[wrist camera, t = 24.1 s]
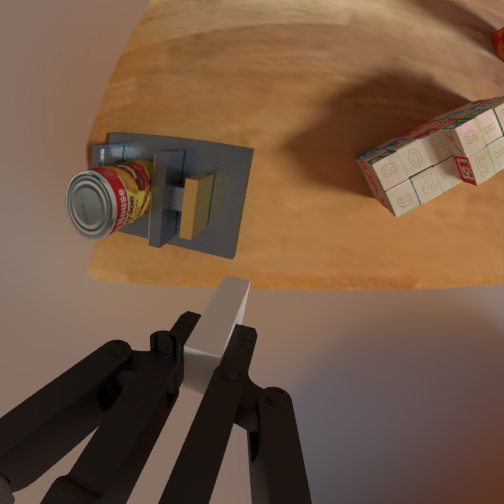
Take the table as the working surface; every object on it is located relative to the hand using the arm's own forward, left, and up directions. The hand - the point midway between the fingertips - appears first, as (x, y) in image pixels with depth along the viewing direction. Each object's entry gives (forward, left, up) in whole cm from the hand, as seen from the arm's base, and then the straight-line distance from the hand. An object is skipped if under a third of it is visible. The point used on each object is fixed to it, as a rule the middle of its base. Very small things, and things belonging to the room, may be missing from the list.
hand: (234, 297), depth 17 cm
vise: (-11, -10, -22) cm, 27 cm away
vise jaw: (-9, -7, -21) cm, 24 cm away
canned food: (-14, -12, -21) cm, 28 cm away
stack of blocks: (+5, +23, -23) cm, 33 cm away
